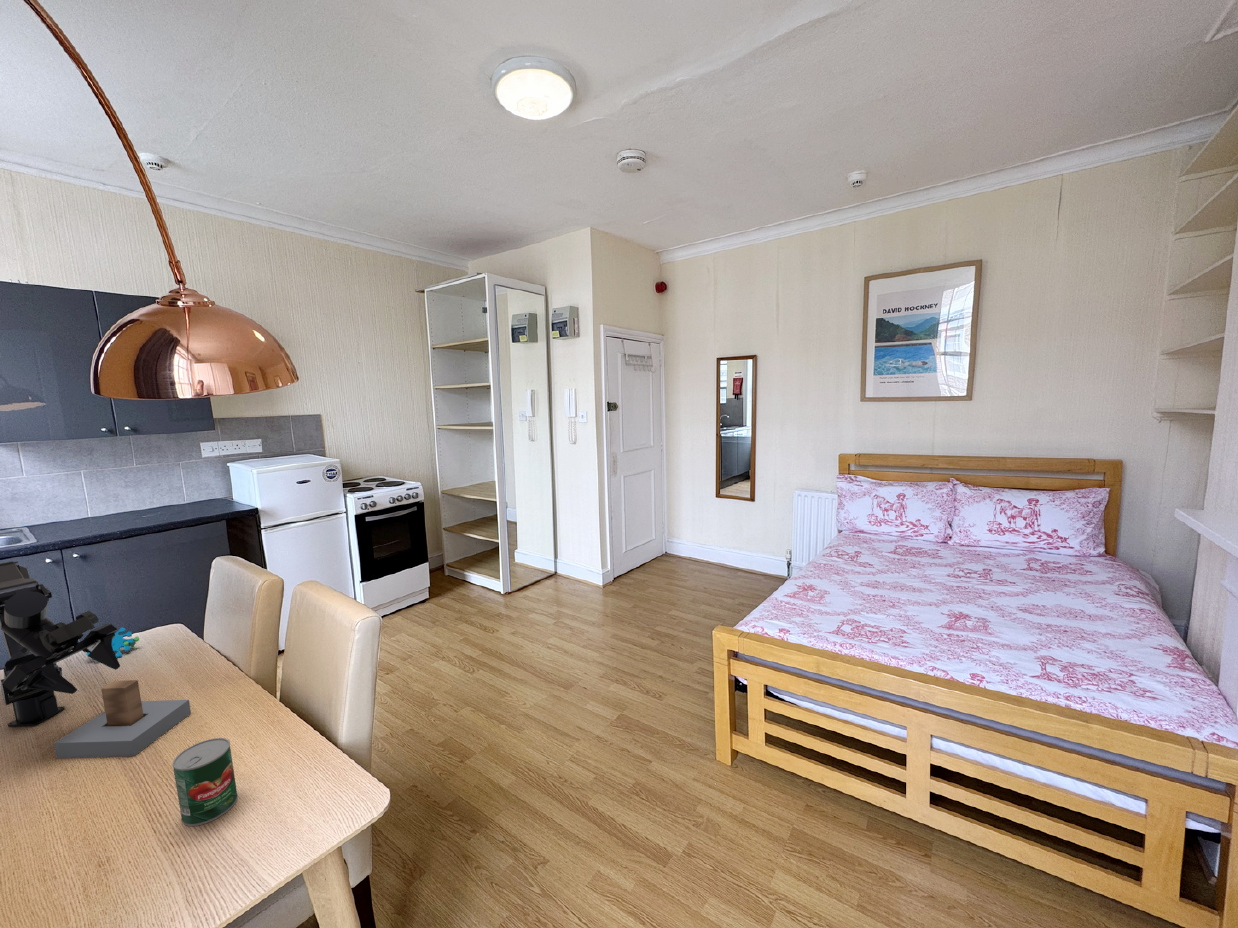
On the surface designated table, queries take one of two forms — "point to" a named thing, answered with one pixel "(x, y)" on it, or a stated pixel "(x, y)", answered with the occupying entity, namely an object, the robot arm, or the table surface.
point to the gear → (122, 642)
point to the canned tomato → (205, 781)
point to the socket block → (122, 732)
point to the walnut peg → (122, 703)
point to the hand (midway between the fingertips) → (97, 679)
